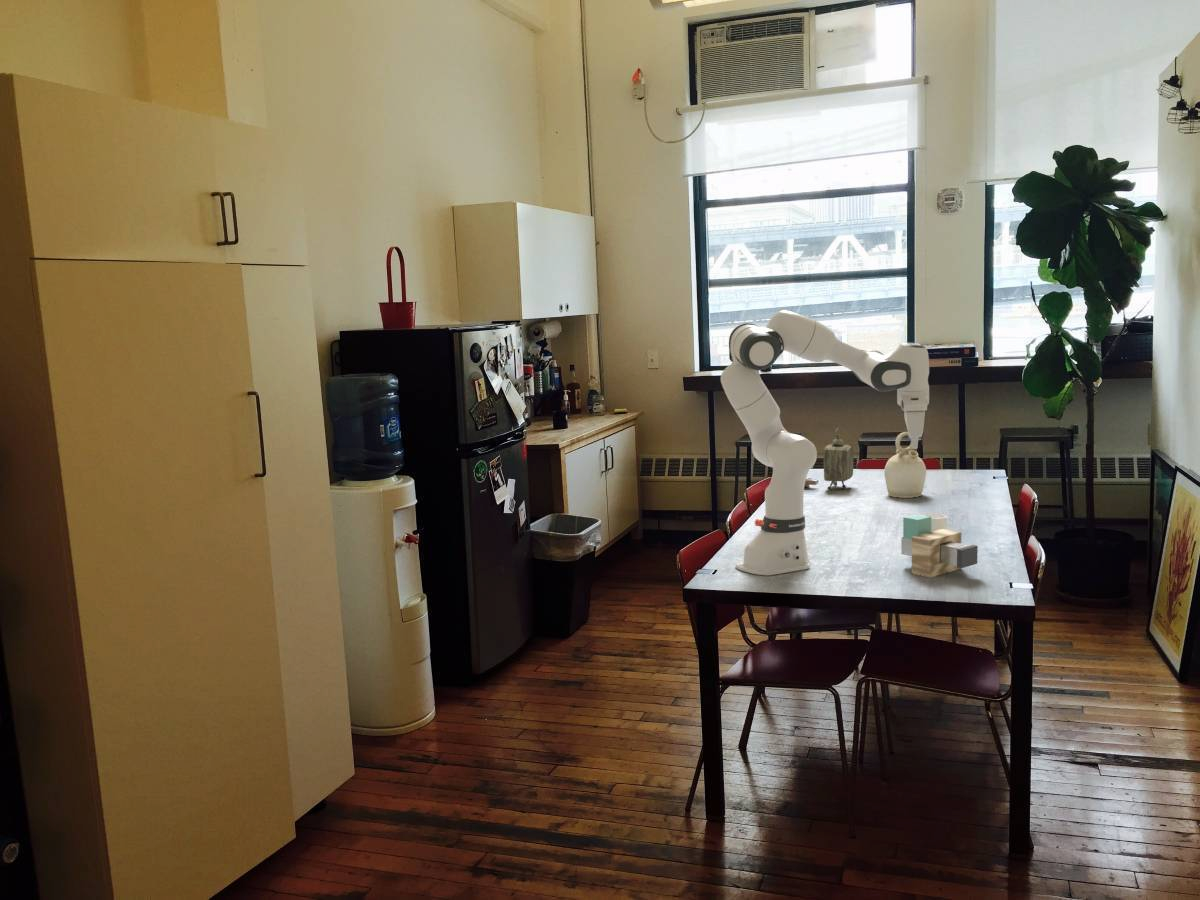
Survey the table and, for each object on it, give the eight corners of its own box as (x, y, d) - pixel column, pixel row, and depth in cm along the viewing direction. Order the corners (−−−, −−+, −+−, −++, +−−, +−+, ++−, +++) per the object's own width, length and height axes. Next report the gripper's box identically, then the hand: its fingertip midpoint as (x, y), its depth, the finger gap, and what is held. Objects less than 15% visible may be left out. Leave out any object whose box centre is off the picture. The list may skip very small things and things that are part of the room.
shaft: (961, 568, 267) (961, 550, 266) (899, 554, 284) (899, 537, 283) (977, 563, 271) (977, 545, 270) (914, 550, 288) (914, 533, 287)
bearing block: (929, 577, 272) (930, 540, 270) (911, 573, 277) (911, 536, 275) (961, 568, 280) (961, 532, 278) (942, 564, 284) (943, 528, 283)
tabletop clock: (832, 485, 414) (831, 425, 410) (854, 485, 410) (853, 425, 406) (823, 491, 401) (823, 429, 397) (846, 492, 397) (846, 430, 393)
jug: (929, 499, 377) (929, 433, 374) (887, 499, 380) (887, 434, 376) (922, 491, 392) (923, 428, 389) (882, 492, 395) (882, 429, 391)
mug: (903, 556, 295) (904, 517, 293) (908, 550, 302) (908, 511, 301) (945, 559, 290) (946, 519, 288) (948, 552, 297) (949, 513, 296)
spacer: (917, 540, 278) (918, 519, 278) (903, 537, 282) (903, 517, 282) (931, 537, 282) (931, 516, 281) (916, 534, 286) (916, 514, 285)
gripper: (899, 389, 297) (899, 433, 301) (904, 407, 278) (904, 454, 282) (921, 388, 296) (921, 433, 300) (927, 406, 277) (927, 453, 281)
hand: (913, 443), depth 291 cm, fingers open, 8 cm apart
